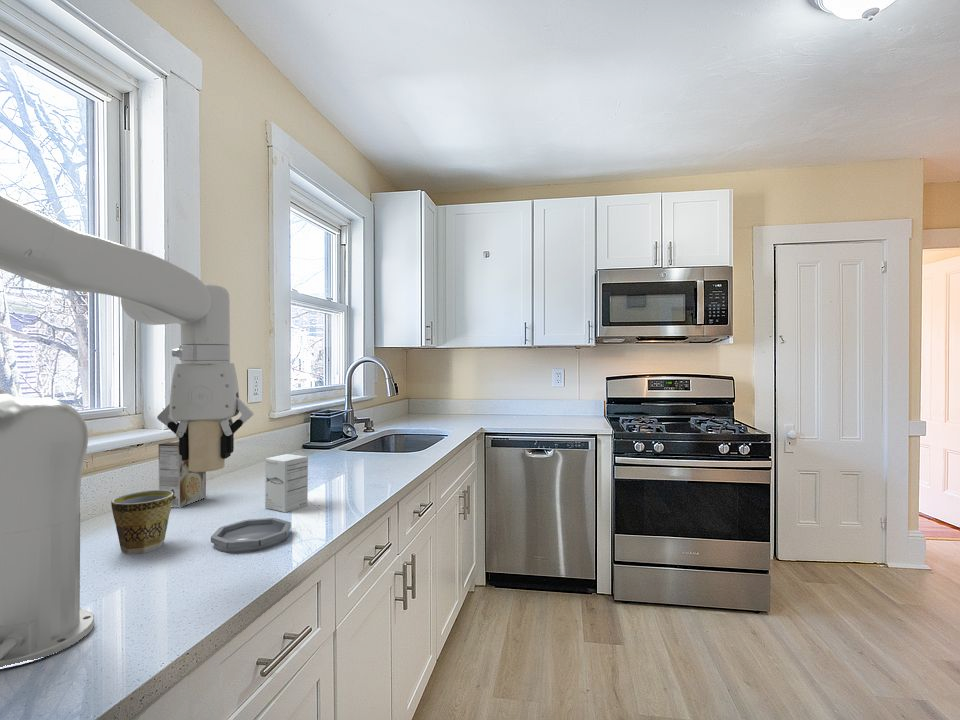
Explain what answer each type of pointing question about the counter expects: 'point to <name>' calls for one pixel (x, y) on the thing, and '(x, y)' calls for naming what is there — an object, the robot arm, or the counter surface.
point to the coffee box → (179, 476)
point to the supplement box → (286, 482)
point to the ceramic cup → (142, 519)
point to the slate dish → (251, 535)
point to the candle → (205, 446)
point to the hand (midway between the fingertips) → (207, 457)
